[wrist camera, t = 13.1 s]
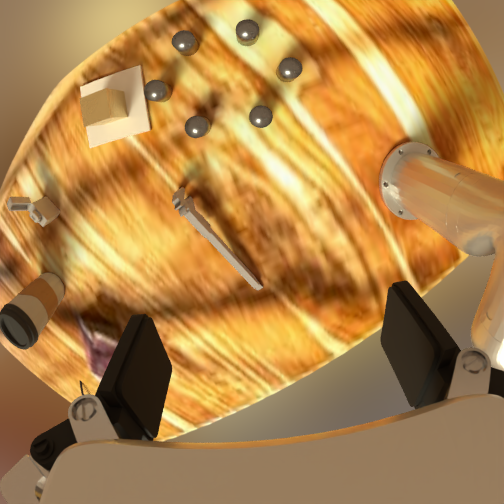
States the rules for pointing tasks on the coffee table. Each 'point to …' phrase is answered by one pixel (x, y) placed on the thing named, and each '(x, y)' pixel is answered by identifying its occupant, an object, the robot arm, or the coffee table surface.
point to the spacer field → (189, 46)
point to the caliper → (211, 235)
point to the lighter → (35, 208)
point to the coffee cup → (31, 310)
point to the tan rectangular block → (103, 107)
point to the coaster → (135, 104)
